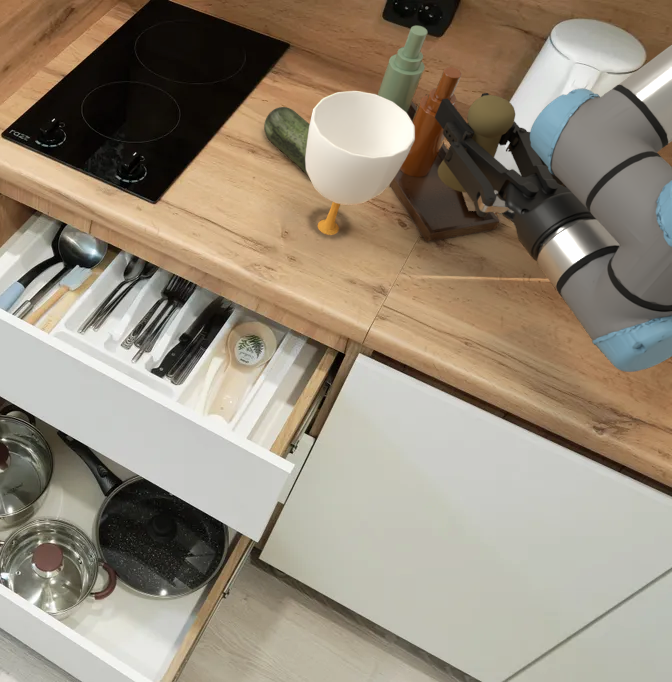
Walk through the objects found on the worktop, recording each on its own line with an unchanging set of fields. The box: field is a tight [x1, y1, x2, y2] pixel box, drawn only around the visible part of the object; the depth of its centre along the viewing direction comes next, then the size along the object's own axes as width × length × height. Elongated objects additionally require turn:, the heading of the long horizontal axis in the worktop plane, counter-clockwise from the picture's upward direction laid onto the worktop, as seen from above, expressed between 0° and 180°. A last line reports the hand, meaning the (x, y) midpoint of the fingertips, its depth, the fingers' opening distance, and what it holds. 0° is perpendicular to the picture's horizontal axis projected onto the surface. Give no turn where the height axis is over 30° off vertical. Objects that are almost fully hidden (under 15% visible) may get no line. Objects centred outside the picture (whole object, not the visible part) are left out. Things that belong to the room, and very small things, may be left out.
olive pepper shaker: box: [438, 94, 516, 193], centre depth 97 cm, size 6×6×11 cm
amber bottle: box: [400, 66, 462, 177], centre depth 105 cm, size 5×5×15 cm
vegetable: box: [263, 106, 310, 176], centre depth 109 cm, size 14×5×5 cm, turn 36°
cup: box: [305, 90, 415, 236], centre depth 96 cm, size 12×12×17 cm
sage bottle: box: [376, 25, 428, 113], centre depth 110 cm, size 5×5×15 cm
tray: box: [389, 100, 501, 243], centre depth 111 cm, size 27×10×2 cm, turn 16°
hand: (461, 105), depth 99 cm, fingers closed on olive pepper shaker, 5 cm apart
